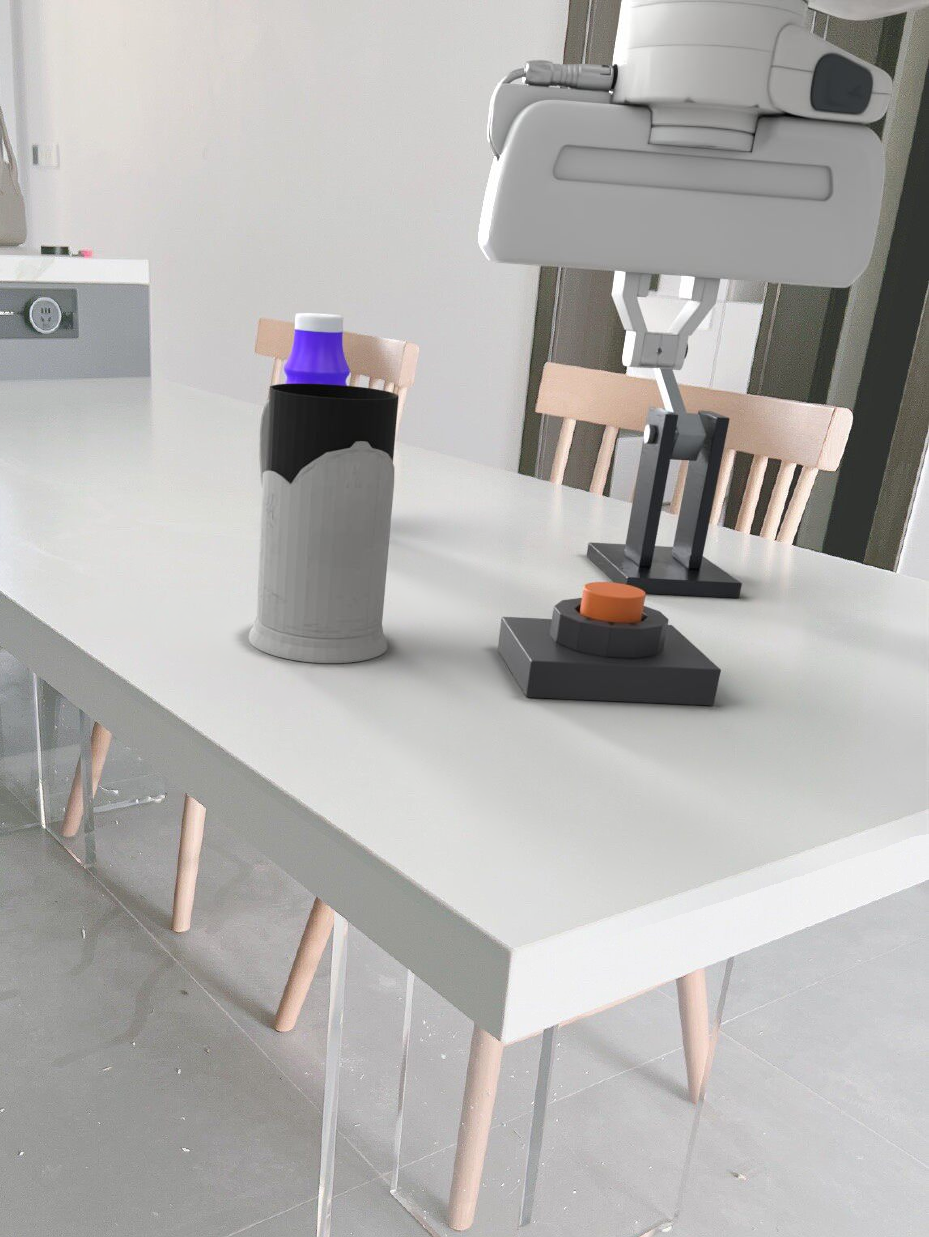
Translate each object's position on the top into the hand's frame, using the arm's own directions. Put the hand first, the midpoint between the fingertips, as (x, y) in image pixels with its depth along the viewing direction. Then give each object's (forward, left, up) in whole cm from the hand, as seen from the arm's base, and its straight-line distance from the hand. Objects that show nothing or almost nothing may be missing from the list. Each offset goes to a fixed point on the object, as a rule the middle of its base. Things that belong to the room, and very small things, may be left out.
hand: (651, 367), depth 66 cm
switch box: (0, 0, -18) cm, 18 cm away
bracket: (-12, -27, -18) cm, 34 cm away
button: (0, 0, -14) cm, 14 cm away
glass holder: (+18, -7, -18) cm, 26 cm away
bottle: (+16, -41, -18) cm, 47 cm away
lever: (-12, -33, -5) cm, 35 cm away
